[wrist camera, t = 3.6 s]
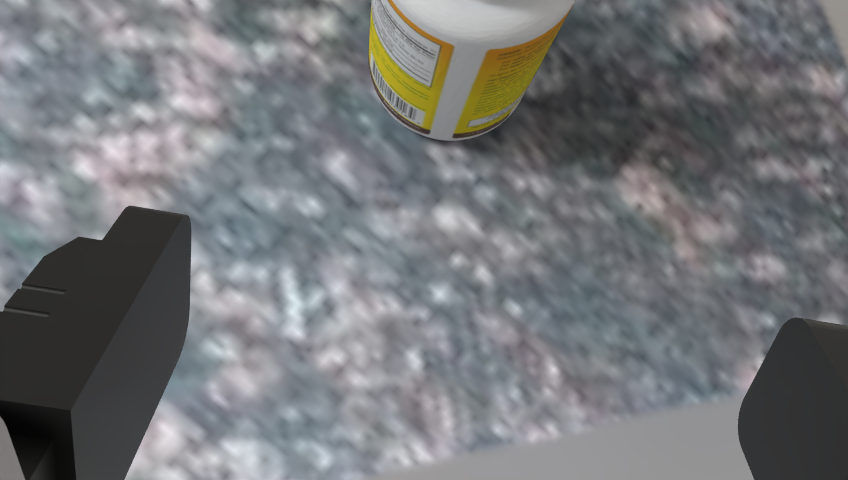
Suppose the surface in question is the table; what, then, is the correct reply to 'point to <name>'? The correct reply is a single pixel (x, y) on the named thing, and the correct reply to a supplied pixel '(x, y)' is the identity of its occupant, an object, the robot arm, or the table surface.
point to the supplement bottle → (458, 60)
